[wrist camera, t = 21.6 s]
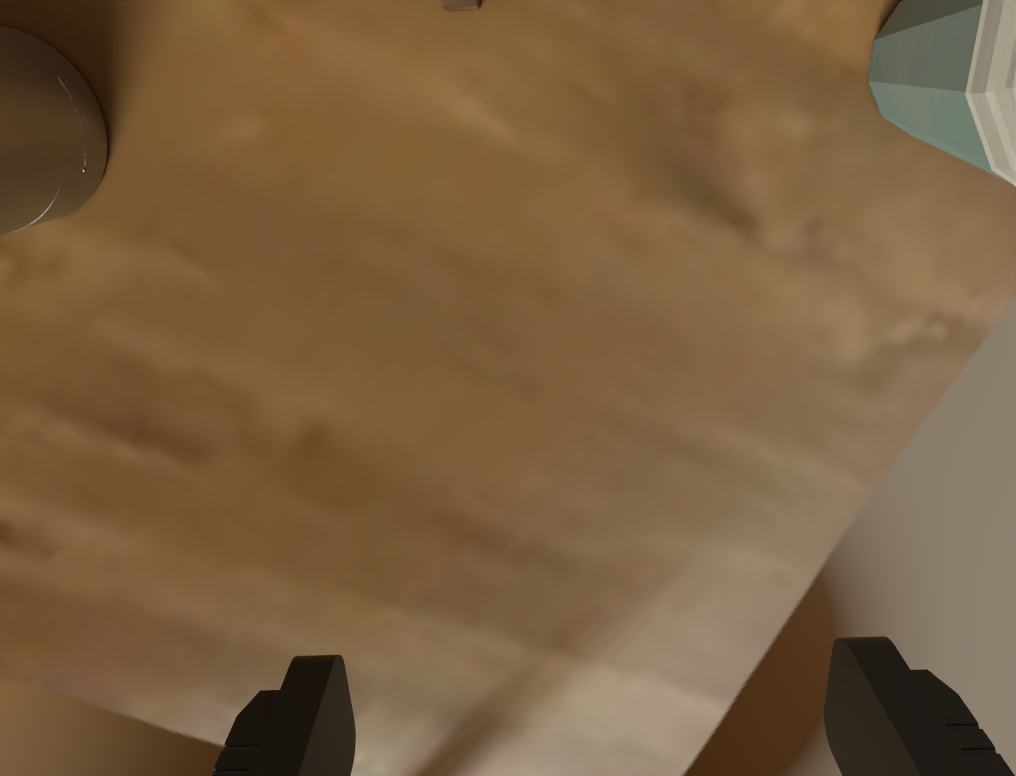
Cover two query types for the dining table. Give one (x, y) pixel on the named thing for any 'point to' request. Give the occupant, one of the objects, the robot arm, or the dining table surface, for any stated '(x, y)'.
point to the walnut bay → (460, 5)
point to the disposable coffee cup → (951, 78)
